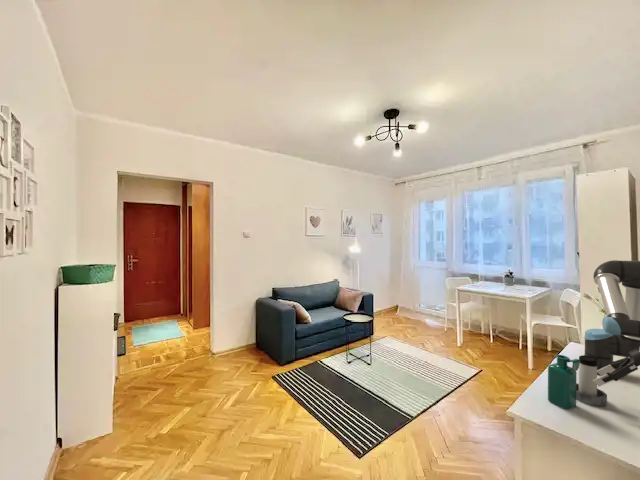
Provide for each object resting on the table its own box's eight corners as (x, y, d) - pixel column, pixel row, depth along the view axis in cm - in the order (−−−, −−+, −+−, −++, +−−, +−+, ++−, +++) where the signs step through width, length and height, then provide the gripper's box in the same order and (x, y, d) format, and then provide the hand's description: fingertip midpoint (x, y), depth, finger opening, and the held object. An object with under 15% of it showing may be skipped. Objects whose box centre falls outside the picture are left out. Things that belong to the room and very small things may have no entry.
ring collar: (583, 390, 139) (583, 382, 139) (614, 405, 127) (614, 396, 127) (563, 393, 136) (563, 385, 136) (592, 408, 124) (592, 399, 124)
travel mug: (601, 403, 128) (601, 360, 128) (584, 401, 129) (584, 359, 129) (591, 395, 134) (591, 354, 134) (575, 394, 135) (575, 353, 135)
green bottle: (545, 400, 130) (546, 353, 130) (556, 396, 134) (556, 351, 133) (571, 412, 121) (571, 362, 121) (581, 407, 125) (582, 359, 124)
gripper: (658, 374, 107) (603, 396, 119) (656, 356, 123) (608, 377, 135) (637, 356, 111) (586, 379, 123) (638, 341, 127) (592, 362, 139)
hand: (597, 378), depth 129 cm, fingers open, 13 cm apart
